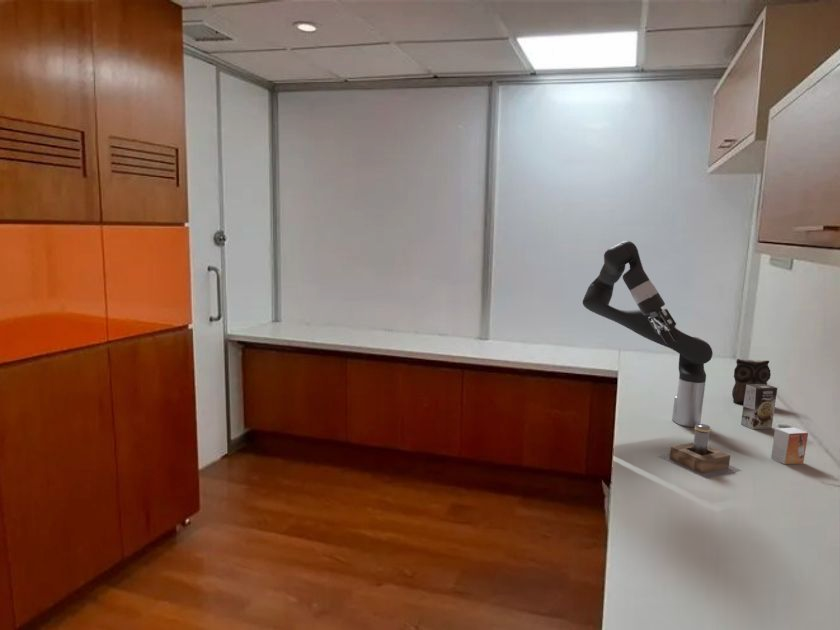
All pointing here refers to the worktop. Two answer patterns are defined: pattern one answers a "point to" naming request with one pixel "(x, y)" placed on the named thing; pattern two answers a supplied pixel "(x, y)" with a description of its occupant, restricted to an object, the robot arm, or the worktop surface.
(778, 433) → the small box
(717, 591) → the worktop surface
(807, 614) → the worktop surface
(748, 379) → the owl
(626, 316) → the robot arm
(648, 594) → the worktop surface
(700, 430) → the gold-rimmed metal cylinder
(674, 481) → the worktop surface
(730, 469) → the base
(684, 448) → the socket block
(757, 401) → the coffee box
